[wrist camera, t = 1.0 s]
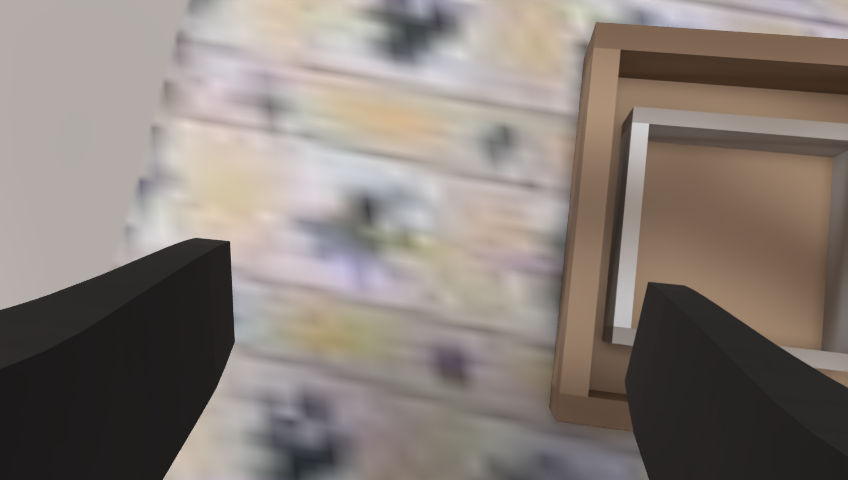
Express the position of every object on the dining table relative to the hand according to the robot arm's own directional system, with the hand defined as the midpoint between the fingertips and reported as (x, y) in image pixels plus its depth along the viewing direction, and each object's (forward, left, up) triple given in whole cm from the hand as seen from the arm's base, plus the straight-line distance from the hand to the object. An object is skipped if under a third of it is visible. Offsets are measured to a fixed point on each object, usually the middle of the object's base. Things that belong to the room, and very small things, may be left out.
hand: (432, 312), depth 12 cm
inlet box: (+3, -8, -12) cm, 15 cm away
